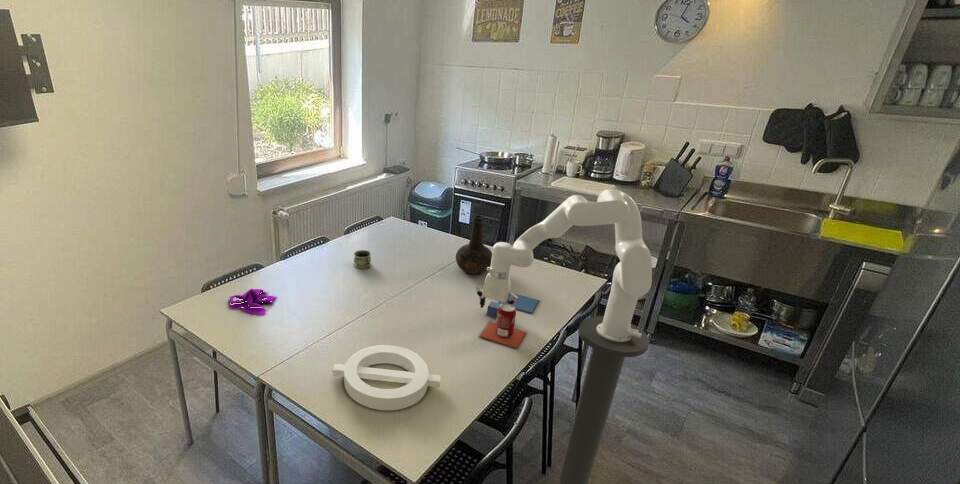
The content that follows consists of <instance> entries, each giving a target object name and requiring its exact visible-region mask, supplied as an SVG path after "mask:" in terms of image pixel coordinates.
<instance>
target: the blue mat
mask: <svg viewBox="0 0 960 484" xmlns="http://www.w3.org/2000/svg"><path fill="white" fill-rule="evenodd" d="M512 293H513V292H512ZM513 294H515V295H516V296H517V297H518V299H517V300H516V301H515V302H514V304H512V305H513V306H514V307H515V310H517V311H520V312H525V313H528V314H532V313H533V312H534V310H535V308H536V307H537V305H538V303H539V302H540V299H537V298H533V297H529V296H524V295H522V294H517V293H513ZM509 300H510V301H511V300H513V298H512V297H510V296H509ZM498 303H500V304H504V302H500V301H498Z"/></svg>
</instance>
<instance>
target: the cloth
mask: <svg viewBox="0 0 960 484" xmlns="http://www.w3.org/2000/svg"><path fill="white" fill-rule="evenodd" d="M263 291H264V290H263V289H261V288H250V289H249V290H248V291H247V292H244V293H243V294H236V295H230V296H229V297H228V302H229V301H230V303H231V304H233V303H241V302H244V303H241V304H234V305H230V304H229V303H228V305H229V308H230V309H231V310H241V311H242V312H243V313H245V314H248V315H256V316H265V314H266V312H267V309H266V308H264V307H263V306H272V304H273V302H274V301H275V300H276V296H274V295H268V294H267V292H266V291H264V292H263ZM261 292H262V293H261ZM260 293H261V294H260ZM234 297H236V298H239V299H243V300H241V301H239V300H236V301H233V298H234ZM274 297H275V298H274ZM229 298H230V300H229ZM264 298H267V299H265V300H262V299H264ZM273 299H274V300H273ZM245 301H247V302H245ZM270 301H272V302H270ZM262 302H263V303H262ZM248 305H249V306H248ZM241 307H244V308H241ZM250 307H262V308H250Z"/></svg>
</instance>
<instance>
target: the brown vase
mask: <svg viewBox="0 0 960 484" xmlns="http://www.w3.org/2000/svg"><path fill="white" fill-rule="evenodd" d="M483 222H484V216H482V215H479V214H476V215H475V214H474V215H473V218H471V223H472V227H471V234H470V239H469V241H468V244H464V245H462V246H461V247H459V248H458V249H457V251H456V253H455V262H456V264H457V266H458V267H459V269H460V270H461V271H463V272H465V273H467V274H471V275H472V274H473V275H479V274H482V273H485V272H487V271H488V270H486V269H487V267H490V266H491V259H492V252H493V251H491V249H490V248H488V247H487V246H485V245H484V240H483V239H484V238H483Z"/></svg>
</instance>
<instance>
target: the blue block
mask: <svg viewBox="0 0 960 484" xmlns="http://www.w3.org/2000/svg"><path fill="white" fill-rule="evenodd" d="M500 305H501V304H500V303H499V302H497V301H490V302H489V304H488V305H487V312H486V316H488V317H491V318H494V319H497V312H498V308H499V307H500Z"/></svg>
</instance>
